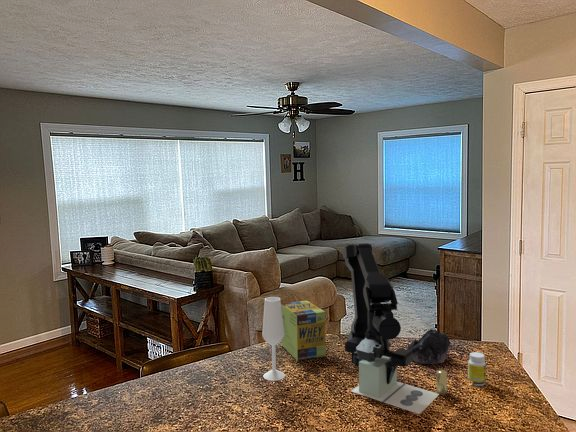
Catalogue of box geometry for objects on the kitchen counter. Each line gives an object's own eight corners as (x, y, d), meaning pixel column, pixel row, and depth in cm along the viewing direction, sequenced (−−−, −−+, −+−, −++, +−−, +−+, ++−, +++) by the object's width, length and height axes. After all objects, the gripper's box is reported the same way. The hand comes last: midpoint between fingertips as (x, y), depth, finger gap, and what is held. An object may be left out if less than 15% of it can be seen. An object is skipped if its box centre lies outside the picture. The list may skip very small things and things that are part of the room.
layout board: (350, 395, 128) (350, 366, 127) (373, 378, 138) (373, 351, 137) (419, 418, 115) (419, 387, 115) (439, 398, 125) (439, 369, 125)
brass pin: (434, 396, 126) (435, 372, 126) (438, 393, 128) (438, 368, 128) (444, 399, 125) (444, 374, 124) (447, 395, 127) (448, 371, 126)
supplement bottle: (487, 387, 131) (487, 358, 131) (469, 385, 132) (470, 357, 132) (483, 379, 136) (484, 351, 135) (466, 378, 137) (467, 350, 136)
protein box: (297, 361, 151) (296, 315, 150) (281, 345, 166) (280, 303, 164) (326, 356, 155) (325, 311, 154) (307, 341, 169) (307, 299, 168)
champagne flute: (264, 370, 145) (262, 295, 142) (285, 371, 144) (284, 295, 142) (262, 380, 138) (260, 302, 136) (284, 380, 138) (282, 302, 135)
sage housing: (358, 391, 128) (358, 361, 127) (377, 377, 136) (377, 349, 135) (378, 398, 124) (378, 367, 123) (396, 383, 132) (396, 354, 131)
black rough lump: (398, 360, 152) (399, 333, 150) (415, 344, 163) (416, 318, 161) (438, 374, 144) (440, 345, 142) (453, 356, 155) (455, 329, 152)
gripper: (333, 327, 128) (334, 381, 129) (396, 342, 116) (395, 402, 118) (354, 317, 136) (355, 368, 138) (414, 330, 125) (414, 385, 126)
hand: (378, 380), depth 130 cm, fingers closed on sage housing, 6 cm apart
